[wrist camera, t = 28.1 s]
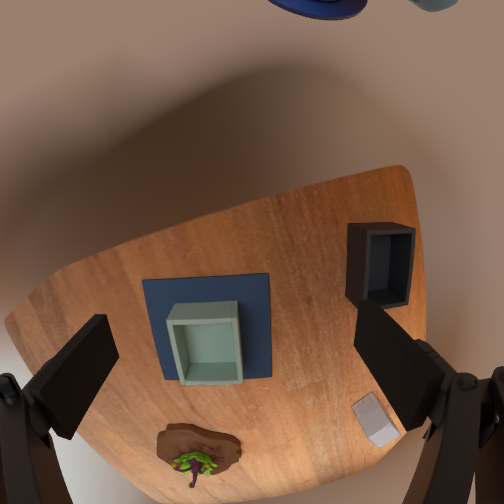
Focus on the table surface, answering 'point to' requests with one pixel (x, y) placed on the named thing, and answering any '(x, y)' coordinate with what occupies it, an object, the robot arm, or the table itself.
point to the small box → (375, 420)
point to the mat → (215, 290)
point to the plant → (197, 450)
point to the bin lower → (380, 263)
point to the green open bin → (206, 342)
